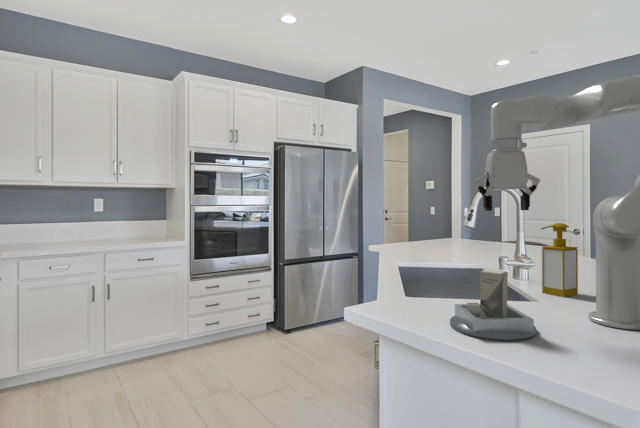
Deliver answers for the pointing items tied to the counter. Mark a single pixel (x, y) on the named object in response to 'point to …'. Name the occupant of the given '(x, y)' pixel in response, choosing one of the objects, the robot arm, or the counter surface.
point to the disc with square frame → (492, 324)
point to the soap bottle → (559, 266)
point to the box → (493, 294)
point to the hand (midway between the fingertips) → (506, 210)
